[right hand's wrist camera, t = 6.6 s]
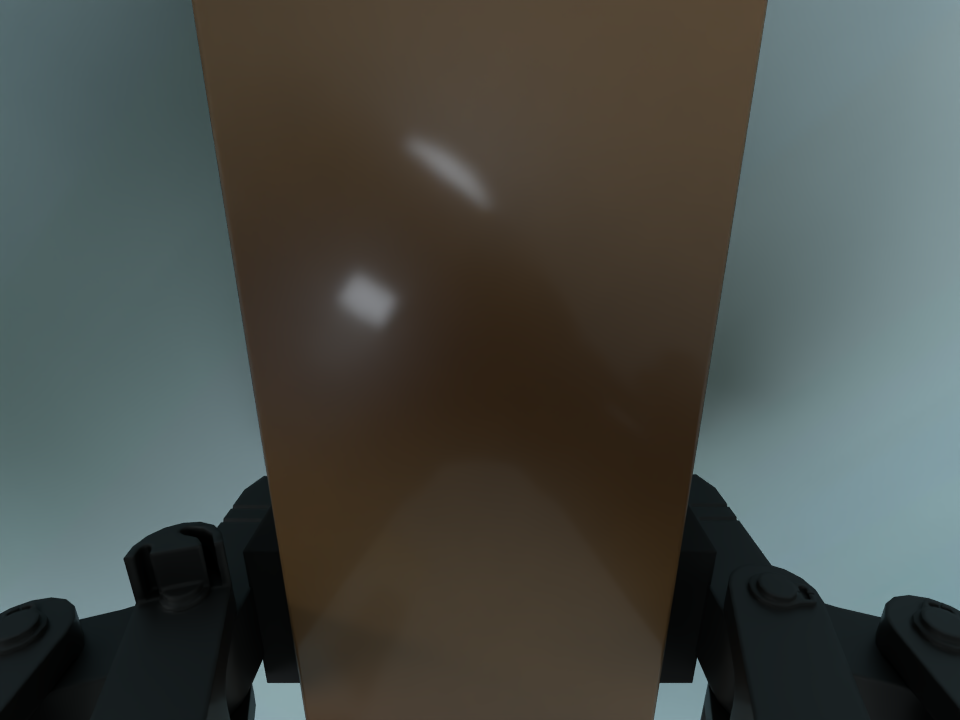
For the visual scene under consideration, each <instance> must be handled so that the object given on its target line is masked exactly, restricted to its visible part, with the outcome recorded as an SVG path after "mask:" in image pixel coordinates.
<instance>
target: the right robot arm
mask: <svg viewBox="0 0 960 720" xmlns="http://www.w3.org/2000/svg"><path fill="white" fill-rule="evenodd" d="M124 562H125V566H126V569H127V573H128V576H129V580H130V583H131V587H132V590H133V594H134V597H135V601H136V605H135V606H133V607H129V608H126V609H123V610H119V611H114V612H110V613H106V614H101V615H97V616H93V617H89V618H84V619H80V620H79V618H78V615H77V612H76V609H75V606H74V605H73V604H71V603H70V602H69V601H68V600H66V599H59V598H52V597H51V598H45V599H39V600H33V601H29V602H27V603H24V604H21V605H18V606H15V607H13V608H10V609H8V610H6V611H4V612H3V613H1V614H0V720H254V717H255V707H256V704H255V697H254V690H253V686H252V683H253V680H254V678H255V676H256V674H257V671H258V669H259V667H260V664H261V662H262V660H263V662H264V668H265V673H266V678H267V683H300V679H299V673H298V667H297V660H296V654H295V648H294V641H293V635H292V629H291V623H290V616H289V610H288V604H287V597H286V591H285V585H284V579H283V572H282V566H281V560H280V553H279V547H278V541H277V535H276V528H275V522H274V516H273V509H272V503H271V497H270V491H269V484H268V478H267V476H263V477H262V478H261V479H259V480H258V481H256V482H255V483H253V484H252V485H251V486H249V487H248V488H246V489H245V490H244V491H243V493H242V494H241V495H240V497H239V498H238V500H237V501H236V502H235V504H234V505H233V509H230V511H229V512H228V513H227V515H226V516H225V518H224V521H223V522H221V523H220V525H219V526H218V527H215V526H214V525H212V524H207V523H203V522H190V523H181V524H177V525H174V526H170V527H166V528H163V529H161V530H159V531H157V532H155V533H153V534H150V535H148V536H147V537H145V538H144V539H142V540H141V541H140V542H138V543H137V544H136V545H134V546H133V547H132V548H131V550H130V551H129V552H128V553H127V555H126V556H125V557H124ZM697 658H698V660H699V662H700V665H701V667H702V669H703V672H704V674H705V676H706V678H707V681H708V686H707V690H706V695H705V700H704V705H703V710H702V715H701V720H960V611H959V610H957V609H955V608H953V607H951V606H949V605H946V604H944V603H940V602H938V601H935V600H932V599H929V598H924V597H918V596H911V595H906V596H898V597H893V598H892V599H891V600H890V601H889V602H887V603H886V604H885V607H884V610H883V613H882V616H881V617H877V616H873V615H868V614H864V613H860V612H855V611H851V610H847V609H842V608H838V607H835V606H831V605H828V604H825V603H824V602H823V600H822V599H821V597H820V596H819V594H818V593H817V591H816V590H815V589H814V588H813V587H812V586H810V585H809V584H808V583H807V582H806V581H804V580H803V579H802V578H800V577H798V576H796V575H795V574H793V573H791V572H789V571H787V570H785V569H782V568H778V567H775V566H772V565H771V564H770V563H769V561H768V560H767V559H766V557H765V556H764V554H763V553H762V552H761V550H760V549H759V547H758V546H757V545H756V543H755V542H754V541H753V539H752V538H751V536H750V535H749V534H748V532H747V531H746V530H745V528H744V527H743V525H742V524H741V523H740V521H737V519H736V516H735V514H734V513H733V512H732V510H731V509H730V507H727V503H726V502H725V501H724V499H723V498H722V496H721V495H720V494H719V492H718V491H717V490H716V488H715V487H713V486H712V485H710V484H709V483H708V482H706V481H705V480H703V479H702V478H700V477H699V476H698V475H696V474H693V475H692V481H691V487H690V494H689V500H688V506H687V513H686V519H685V525H684V532H683V538H682V544H681V551H680V557H679V563H678V569H677V576H676V582H675V588H674V595H673V601H672V607H671V614H670V620H669V626H668V632H667V639H666V645H665V651H664V658H663V664H662V670H661V677H660V683H692V682H693V677H694V671H695V666H696V661H697Z"/></svg>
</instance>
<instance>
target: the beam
mask: <svg viewBox="0 0 960 720" xmlns="http://www.w3.org/2000/svg"><path fill="white" fill-rule="evenodd" d="M767 2H768V0H192V6H193V13H194V19H195V25H196V31H197V38H198V44H199V50H200V57H201V63H202V69H203V75H204V82H205V88H206V94H207V101H208V107H209V113H210V119H211V126H212V132H213V138H214V145H215V151H216V157H217V163H218V170H219V176H220V182H221V189H222V195H223V201H224V208H225V214H226V220H227V226H228V233H229V239H230V245H231V252H232V258H233V264H234V270H235V277H236V283H237V289H238V296H239V302H240V308H241V314H242V321H243V327H244V333H245V340H246V346H247V352H248V358H249V365H250V371H251V377H252V384H253V390H254V396H255V402H256V409H257V415H258V421H259V428H260V434H261V440H262V446H263V453H264V459H265V465H266V472H267V478H268V484H269V491H270V497H271V503H272V509H273V516H274V522H275V528H276V535H277V541H278V547H279V553H280V560H281V566H282V572H283V579H284V585H285V591H286V597H287V604H288V610H289V616H290V623H291V629H292V635H293V641H294V648H295V654H296V660H297V667H298V673H299V679H300V685H301V692H302V698H303V704H304V711H305V717H306V720H654V714H655V708H656V702H657V695H658V689H659V683H660V677H661V670H662V664H663V658H664V651H665V645H666V639H667V632H668V626H669V620H670V614H671V607H672V601H673V595H674V588H675V582H676V576H677V569H678V563H679V557H680V551H681V544H682V538H683V532H684V525H685V519H686V513H687V506H688V500H689V494H690V487H691V481H692V475H693V469H694V462H695V456H696V450H697V443H698V437H699V431H700V424H701V418H702V412H703V406H704V399H705V393H706V387H707V380H708V374H709V368H710V361H711V355H712V349H713V343H714V336H715V330H716V324H717V317H718V311H719V305H720V298H721V292H722V286H723V279H724V273H725V267H726V261H727V254H728V248H729V242H730V235H731V229H732V223H733V216H734V210H735V204H736V198H737V191H738V185H739V179H740V172H741V166H742V160H743V153H744V147H745V141H746V134H747V128H748V122H749V116H750V109H751V103H752V97H753V90H754V84H755V78H756V71H757V65H758V59H759V53H760V46H761V40H762V34H763V27H764V21H765V15H766V8H767Z"/></svg>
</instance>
